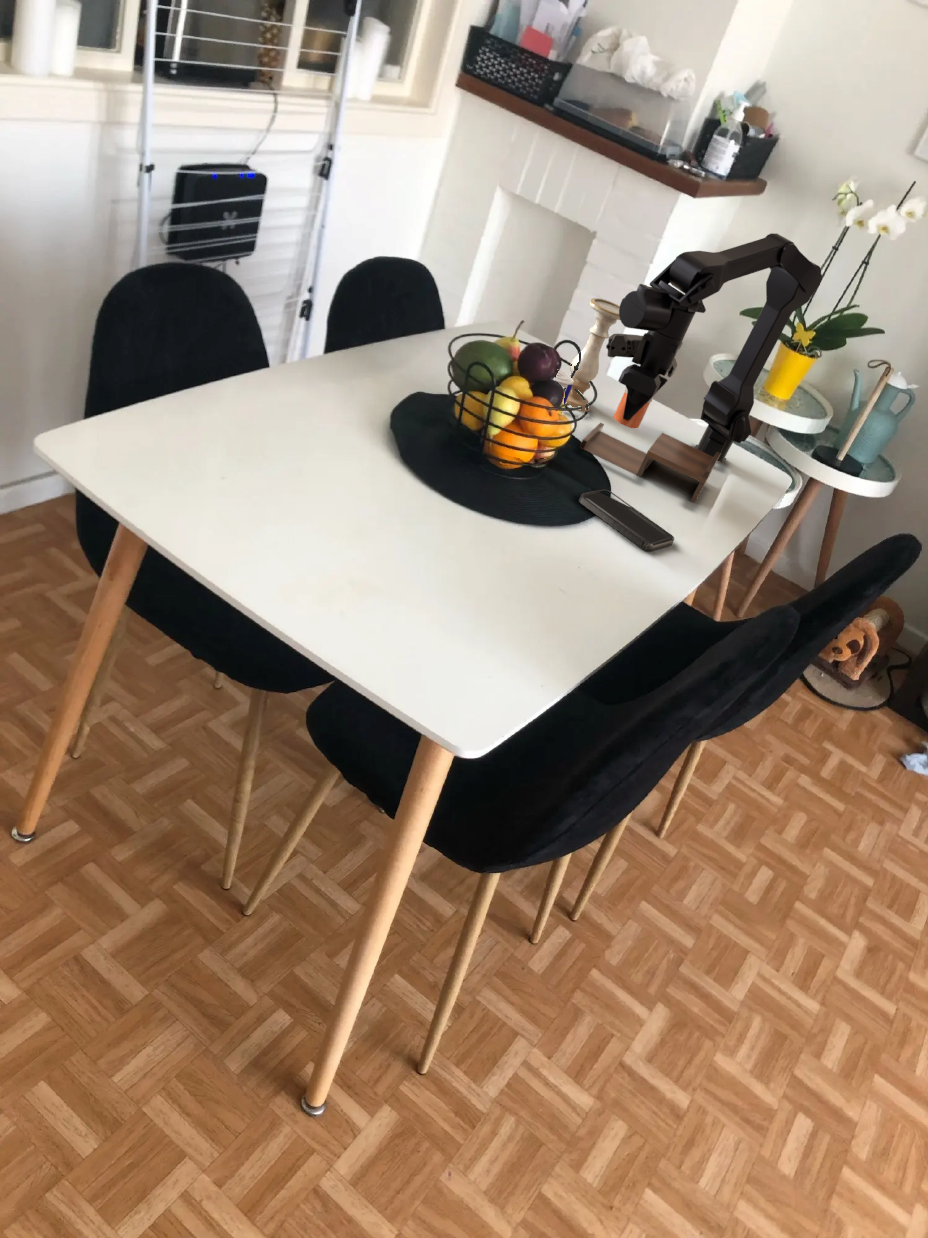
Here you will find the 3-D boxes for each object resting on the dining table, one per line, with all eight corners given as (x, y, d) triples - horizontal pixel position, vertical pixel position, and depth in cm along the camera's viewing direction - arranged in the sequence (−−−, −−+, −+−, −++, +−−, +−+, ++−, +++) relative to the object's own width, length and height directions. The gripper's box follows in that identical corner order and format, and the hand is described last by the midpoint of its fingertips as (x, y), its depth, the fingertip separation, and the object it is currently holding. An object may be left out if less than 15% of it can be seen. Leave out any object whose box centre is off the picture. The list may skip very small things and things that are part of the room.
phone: (650, 546, 152) (578, 493, 159) (647, 552, 152) (576, 499, 159) (677, 538, 157) (607, 488, 164) (674, 544, 158) (604, 494, 165)
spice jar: (616, 412, 179) (630, 381, 176) (642, 424, 178) (656, 393, 175) (610, 418, 175) (624, 387, 172) (635, 431, 174) (650, 400, 171)
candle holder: (541, 402, 191) (582, 300, 180) (554, 391, 198) (594, 292, 187) (583, 421, 190) (626, 320, 179) (594, 410, 197) (637, 312, 186)
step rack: (594, 435, 186) (610, 400, 182) (703, 487, 182) (721, 453, 179) (576, 452, 176) (592, 416, 172) (691, 509, 172) (710, 472, 169)
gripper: (636, 303, 177) (601, 384, 185) (610, 321, 161) (573, 408, 169) (694, 330, 175) (656, 410, 183) (673, 350, 159) (632, 437, 168)
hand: (629, 415), depth 176 cm, fingers closed on spice jar, 5 cm apart
